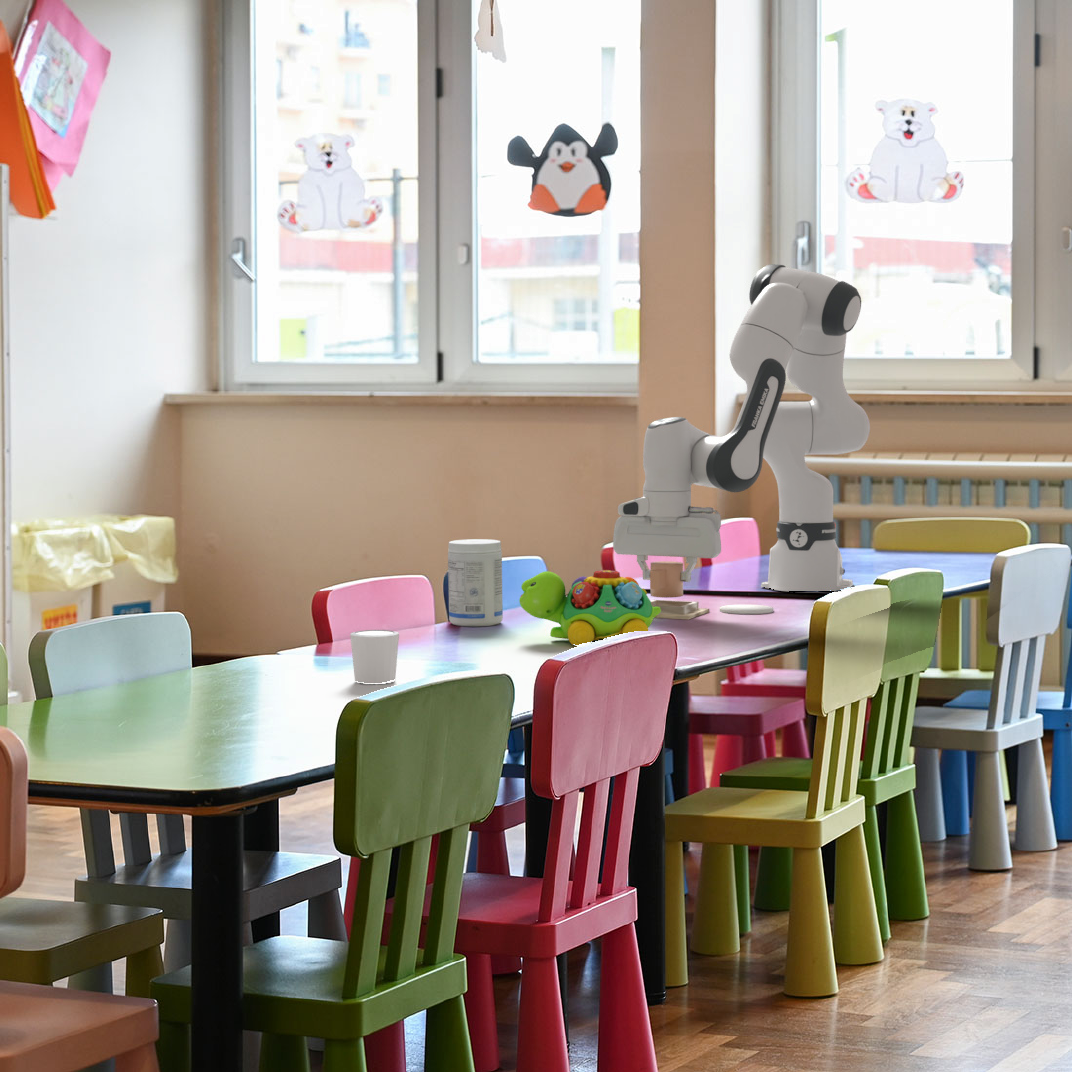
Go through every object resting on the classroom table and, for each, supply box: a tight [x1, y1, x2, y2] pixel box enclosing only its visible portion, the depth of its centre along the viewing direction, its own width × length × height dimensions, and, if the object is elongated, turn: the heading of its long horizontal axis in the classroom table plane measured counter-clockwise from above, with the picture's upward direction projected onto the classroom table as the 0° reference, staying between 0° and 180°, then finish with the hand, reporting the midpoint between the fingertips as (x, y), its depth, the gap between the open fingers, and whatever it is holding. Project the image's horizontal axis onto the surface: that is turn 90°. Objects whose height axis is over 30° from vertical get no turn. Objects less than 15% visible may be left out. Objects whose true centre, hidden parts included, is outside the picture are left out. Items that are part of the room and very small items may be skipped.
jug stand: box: [650, 599, 710, 620], centre depth 318 cm, size 12×12×2 cm
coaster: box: [719, 604, 775, 615], centre depth 322 cm, size 10×10×1 cm
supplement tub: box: [447, 538, 504, 627], centre depth 304 cm, size 10×10×15 cm
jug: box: [649, 560, 684, 599], centre depth 316 cm, size 6×10×6 cm, turn 157°
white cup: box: [349, 629, 400, 683], centre depth 242 cm, size 7×7×7 cm
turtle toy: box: [518, 569, 661, 646], centre depth 282 cm, size 17×23×12 cm
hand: (666, 580), depth 318 cm, fingers closed on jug, 6 cm apart
